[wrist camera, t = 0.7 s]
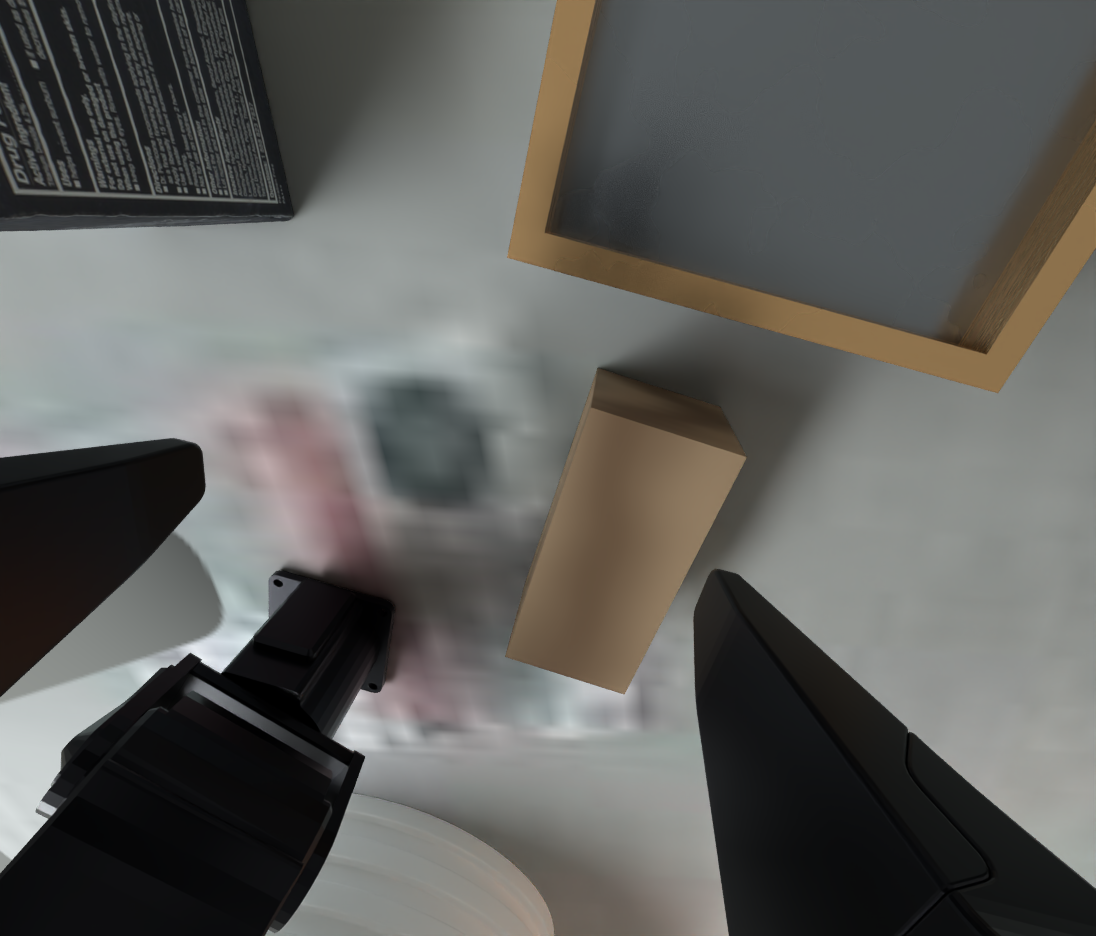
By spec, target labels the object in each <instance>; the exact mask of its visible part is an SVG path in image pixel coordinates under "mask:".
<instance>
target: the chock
mask: <svg viewBox="0 0 1096 936" xmlns="http://www.w3.org/2000/svg"><path fill="white" fill-rule="evenodd" d="M746 458H747V456H746V454H745V453H744V451H743V449H742V447H741V445H740V443H739V441H738V439H737V438H736V436H735V434H734V432H733V430H732V428H731V426H730V424H729V422H728V421H727V419H726V417H725V415H724V413H723V411H722V409H721V407H719V406H716V405H713V404H710V403H706V402H703V401H700V400H697V399H694V398H691V397H688V396H684V395H681V394H678V393H675V392H672V391H669V390H666V389H663V388H659V387H656V386H653V385H650V384H647V383H644V382H641V381H638V380H634V379H631V378H628V377H625V376H622V375H619V374H616V373H612V372H609V371H606V370H603V369H600V368H597V371H596V374H595V377H594V380H593V383H592V386H591V389H590V392H589V395H588V398H587V401H586V404H585V407H584V410H583V413H582V416H581V419H580V422H579V425H578V428H577V431H576V433H575V436H574V439H573V442H572V445H571V448H570V451H569V454H568V457H567V460H566V463H565V466H564V469H563V472H562V475H561V478H560V481H559V484H558V487H557V490H556V493H555V496H554V499H553V502H552V505H551V508H550V511H549V514H548V516H547V519H546V522H545V525H544V528H543V531H542V534H541V537H540V540H539V543H538V546H537V549H536V552H535V555H534V558H533V561H532V564H531V567H530V570H529V573H528V576H527V579H526V582H525V585H524V589H523V593H522V596H521V600H520V604H519V607H518V611H517V615H516V619H515V622H514V626H513V630H512V633H511V637H510V641H509V644H508V648H507V652H506V655H505V657H507V658H510V659H514V660H517V661H520V662H523V663H526V664H530V665H533V666H536V667H539V668H542V669H545V670H549V671H552V672H555V673H558V674H561V675H564V676H568V677H571V678H574V679H577V680H580V681H583V682H587V683H590V684H593V685H596V686H599V687H602V688H606V689H609V690H612V691H615V692H618V693H621V694H625V692H626V690H627V688H628V686H629V685H630V683H631V681H632V679H633V677H634V675H635V673H636V671H637V669H638V667H639V665H640V663H641V661H642V659H643V657H644V656H645V654H646V652H647V650H648V648H649V646H650V644H651V642H652V640H653V638H654V636H655V634H656V632H657V630H658V628H659V626H660V625H661V623H662V621H663V619H664V617H665V615H666V613H667V611H668V609H669V607H670V605H671V603H672V601H673V599H674V597H675V596H676V594H677V592H678V590H679V588H680V586H681V584H682V582H683V580H684V578H685V576H686V574H687V572H688V570H689V568H690V566H691V565H692V563H693V561H694V559H695V557H696V555H697V553H698V551H699V549H700V547H701V545H702V543H703V541H704V539H705V537H706V536H707V534H708V532H709V530H710V528H711V526H712V524H713V522H714V520H715V518H716V516H717V514H718V512H719V510H720V508H721V507H722V505H723V503H724V501H725V499H726V497H727V495H728V493H729V491H730V489H731V487H732V485H733V483H734V481H735V479H736V477H737V476H738V474H739V472H740V470H741V468H742V466H743V464H744V462H745V460H746Z"/></svg>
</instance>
